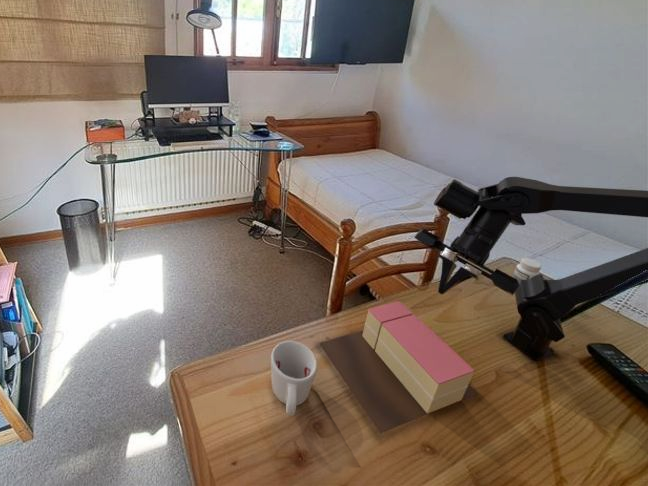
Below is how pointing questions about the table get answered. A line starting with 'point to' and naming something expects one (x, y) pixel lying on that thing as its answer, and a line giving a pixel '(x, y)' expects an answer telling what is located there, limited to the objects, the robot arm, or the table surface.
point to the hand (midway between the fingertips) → (440, 293)
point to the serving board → (374, 382)
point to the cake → (423, 363)
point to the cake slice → (382, 320)
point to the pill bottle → (526, 269)
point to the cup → (292, 373)
